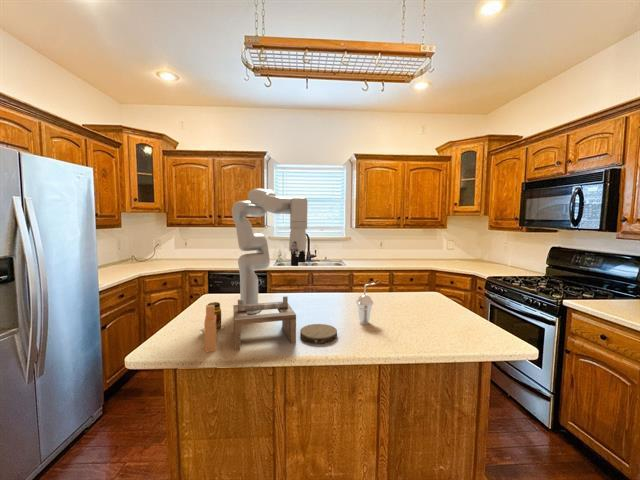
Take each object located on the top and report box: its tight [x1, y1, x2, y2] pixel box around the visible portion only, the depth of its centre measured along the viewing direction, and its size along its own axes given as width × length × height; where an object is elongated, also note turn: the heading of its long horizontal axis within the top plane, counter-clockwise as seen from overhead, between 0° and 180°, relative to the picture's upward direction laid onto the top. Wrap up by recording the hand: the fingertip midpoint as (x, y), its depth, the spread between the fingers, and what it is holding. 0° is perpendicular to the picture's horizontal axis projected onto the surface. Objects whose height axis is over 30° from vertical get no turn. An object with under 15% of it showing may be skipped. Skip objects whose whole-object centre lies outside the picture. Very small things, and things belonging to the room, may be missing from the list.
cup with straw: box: [355, 282, 377, 325], centre depth 146 cm, size 8×9×20 cm
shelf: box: [232, 295, 297, 351], centre depth 127 cm, size 20×24×17 cm
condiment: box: [200, 301, 225, 333], centre depth 136 cm, size 7×8×12 cm
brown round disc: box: [299, 323, 338, 345], centre depth 129 cm, size 16×16×3 cm
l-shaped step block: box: [203, 304, 218, 353], centre depth 117 cm, size 8×4×16 cm, turn 18°
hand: (298, 264), depth 132 cm, fingers open, 9 cm apart
